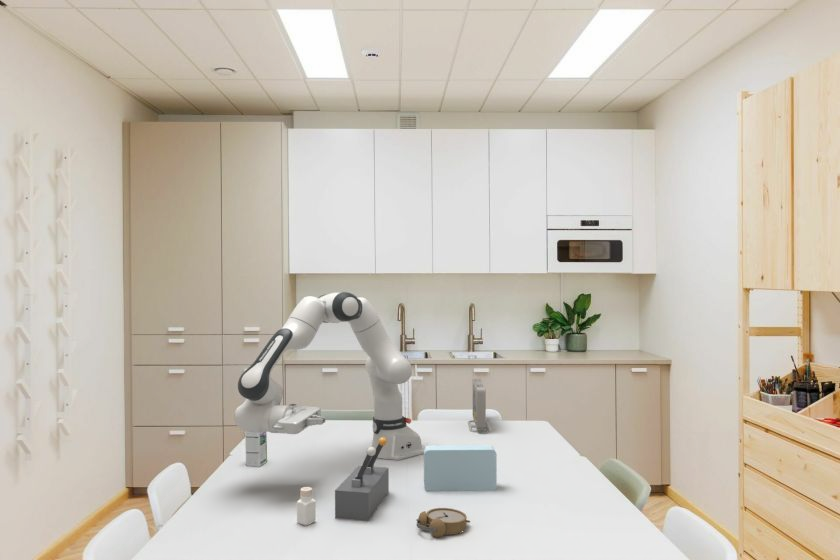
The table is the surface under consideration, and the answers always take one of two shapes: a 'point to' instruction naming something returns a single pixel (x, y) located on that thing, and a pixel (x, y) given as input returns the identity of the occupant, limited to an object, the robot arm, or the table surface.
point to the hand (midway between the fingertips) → (323, 420)
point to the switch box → (361, 494)
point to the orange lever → (377, 451)
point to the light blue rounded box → (460, 468)
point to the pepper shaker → (306, 507)
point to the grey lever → (366, 462)
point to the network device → (479, 407)
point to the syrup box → (256, 448)
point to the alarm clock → (442, 521)
